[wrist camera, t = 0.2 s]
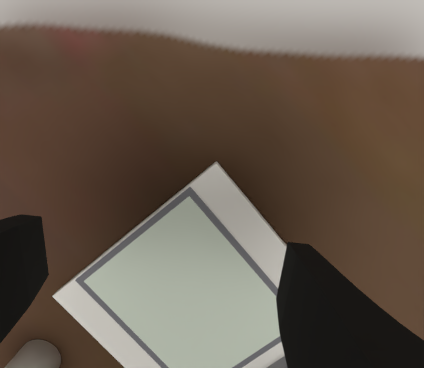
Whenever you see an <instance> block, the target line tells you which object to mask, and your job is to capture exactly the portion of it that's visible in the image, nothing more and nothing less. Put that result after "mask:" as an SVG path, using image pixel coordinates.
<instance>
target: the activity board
mask: <svg viewBox="0 0 424 368" xmlns="http://www.w3.org/2000/svg"><path fill="white" fill-rule="evenodd" d="M286 248H287V245H286V244H285V243H284V242H283V240H282V239H281V238H280V237H279V236H278V234H277V233H276V232H275V231H274V230H273V228H272V227H271V226H270V225H269V224H268V222H267V221H266V220H265V219H264V218H263V216H262V215H261V214H260V213H259V211H258V210H257V209H256V208H255V207H254V205H253V204H252V203H251V202H250V201H249V199H248V198H247V197H246V196H245V195H244V193H243V192H242V191H241V190H240V189H239V187H238V186H237V185H236V184H235V183H234V181H233V180H232V179H231V178H230V177H229V175H228V174H227V173H226V172H225V170H224V169H223V168H222V167H221V166H220V164H219V163H218V162H217V161H216V162H215V163H213V164H212V165H211V166H210V167H209V168H207V169H206V170H205V171H204V172H202V173H201V174H200V175H199V176H197V177H196V178H195V179H194V180H193V181H191V182H190V183H189V184H188V185H186V186H185V187H184V188H183V189H182V190H180V191H179V192H178V193H177V194H175V195H174V196H173V197H172V198H170V199H169V200H168V201H167V202H166V203H164V204H163V205H162V206H161V207H159V208H158V209H157V210H156V211H155V212H153V213H152V214H151V215H150V216H148V217H147V218H146V219H145V220H143V221H142V222H141V223H140V224H139V225H137V226H136V227H135V228H134V229H132V230H131V231H130V232H129V233H128V234H126V235H125V236H124V237H123V238H121V239H120V240H119V241H118V242H117V243H115V244H114V245H113V246H112V247H110V248H109V249H108V250H107V251H105V252H104V253H103V254H102V255H101V256H99V257H98V258H97V259H96V260H94V261H93V262H92V263H91V264H90V265H88V266H87V267H86V268H85V269H83V270H82V271H81V272H80V273H78V274H77V275H76V276H75V277H74V278H72V279H71V280H70V281H69V282H67V283H66V284H65V285H64V286H63V287H61V288H60V289H59V290H58V291H57V292H56V293H55V294H54V295H53V296H52V297H53V298H54V299H55V300H56V301H58V302H59V303H60V304H61V305H62V306H63V307H64V308H65V309H66V310H67V311H68V312H69V313H70V314H71V315H72V316H73V317H74V318H75V319H76V320H77V321H78V322H79V323H80V324H81V325H82V326H83V327H84V328H85V329H86V330H87V331H88V332H89V333H90V334H91V335H92V336H93V337H94V338H95V339H96V340H97V341H98V342H99V343H100V344H101V345H102V346H103V347H104V348H105V349H106V350H107V351H108V352H109V353H110V354H111V355H112V356H113V357H114V358H115V359H116V360H117V361H118V362H120V363H121V364H122V365H123V366H124V367H125V368H287V364H286V359H285V355H284V350H283V346H282V341H281V337H280V332H279V324H278V314H277V304H276V297H277V292H278V287H279V282H280V277H281V272H282V267H283V262H284V257H285V252H286Z"/></svg>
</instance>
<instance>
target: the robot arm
mask: <svg viewBox="0 0 424 368" xmlns="http://www.w3.org/2000/svg"><path fill="white" fill-rule="evenodd" d="M48 275H49V273H48V266H47V258H46V250H45V242H44V234H43V226H42V218H41V217H40V216H30V215H17V216H12V217H9V218H5V219H2V220H0V343H1V342H2V340H3V339H4V338H5V337H6V335H7V334H8V333H9V332H10V330H11V329H12V328H13V327H14V325H15V324H16V323H17V322H18V320H19V319H20V318H21V317H22V315H23V314H24V313H25V311H26V310H27V309H28V307H29V306H30V305H31V303H32V302H33V300H34V298H35V297H36V295H37V294H38V292H39V290H40V289H41V287H42V285H43V283H44V282H45V280H46V278H47V276H48ZM276 304H277V314H278V324H279V332H280V337H281V341H282V346H283V350H284V355H285V359H286V364H287V368H424V340H422V339H421V338H419V337H418V336H417V335H415V334H414V333H412V332H411V331H410V330H408V329H407V328H406V327H404V326H403V325H402V324H400V323H399V322H398V321H397V320H395V319H394V318H393V317H392V316H390V315H389V314H388V313H387V312H385V311H384V310H383V309H382V308H380V307H379V306H378V305H377V304H375V303H374V302H373V301H372V300H371V299H370V298H368V297H367V296H366V295H365V294H364V293H362V292H361V291H360V290H359V289H358V288H357V287H356V286H355V285H353V284H352V283H351V282H350V281H349V280H348V279H347V278H346V277H345V276H343V275H342V274H341V273H340V272H339V271H338V270H337V269H336V268H335V267H334V266H333V265H331V264H330V263H329V262H328V261H327V260H326V259H325V258H324V257H323V256H322V255H321V254H320V253H318V252H317V251H316V250H315V249H314V248H313V247H312V246H310V245H309V244H300V243H291V242H288V243H287V248H286V252H285V257H284V262H283V267H282V272H281V277H280V282H279V287H278V292H277V297H276Z"/></svg>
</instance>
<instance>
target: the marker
mask: <svg viewBox="0 0 424 368" xmlns="http://www.w3.org/2000/svg"><path fill="white" fill-rule="evenodd" d="M60 364H61V355H60V353H59V351H58V349H57V348H56V347H55V346H54V345H53V344H51V343H49V342H47V341H45V340H39V339H36V340H31V341H29V342H27V343H25V344H24V345H23V347H22V348H21V349H20V350H19V351H18V352H17V354H16V355H15V356H14V357H13V358H12V359H11V361H10V362H9V363H8V364H7V365H6V366H5V368H59V366H60Z"/></svg>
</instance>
